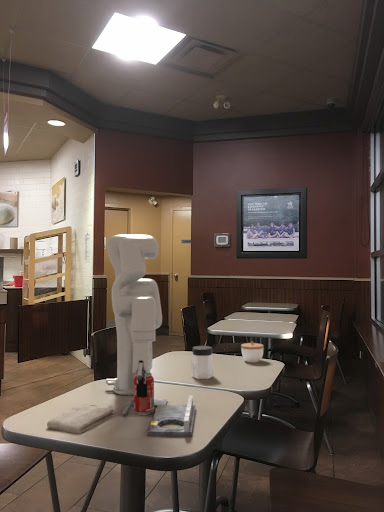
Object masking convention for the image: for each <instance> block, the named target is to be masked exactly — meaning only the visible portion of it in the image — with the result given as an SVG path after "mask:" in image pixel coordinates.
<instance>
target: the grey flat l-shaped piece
mask: <svg viewBox="0 0 384 512" xmlns="http://www.w3.org/2000/svg"><path fill="white" fill-rule="evenodd" d="M167 403H168V399H155V398H154V408H157V407H158V405H167ZM125 407H126V408H125V409H124V410H123V412H122V414H121V415H122V418H124V417H125V418H126V417H127V415H128V413H129V412H130V410H131V408H134V398H132V399H131V400H130V402H128V405H127V406H125Z"/></svg>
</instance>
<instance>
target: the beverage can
mask: <svg viewBox="0 0 384 512" xmlns="http://www.w3.org/2000/svg"><path fill="white" fill-rule="evenodd" d="M142 373H145V372H142ZM143 377H144V376H143ZM146 383H147V397H137V374H136V376H135V378H134V395H133V399H134V407H133V411H134V412H135V413H136V414H137V415H139V416H149V415H150V414H152V412H153V411H154V410H155V407H154V399H155V379H154V376H153V375H152V373H151V372H150V373H148V374H147V378H146Z"/></svg>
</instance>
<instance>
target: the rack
mask: <svg viewBox="0 0 384 512" xmlns="http://www.w3.org/2000/svg"><path fill="white" fill-rule="evenodd" d="M195 414H196V405H195V404H194V396H193V395H189V396H188V400H187V404H166V405H158V407H156V409H155V412H154V414H153V417H152V419H151V422H150V423H149V426H148V428H147V431H146V436H147V437H188V438H189V437H192V435H193V429H194V421H195ZM169 424H172V425H173V424H175V425H181V427H178V428H164V427H161V426H163V425H169Z"/></svg>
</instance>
